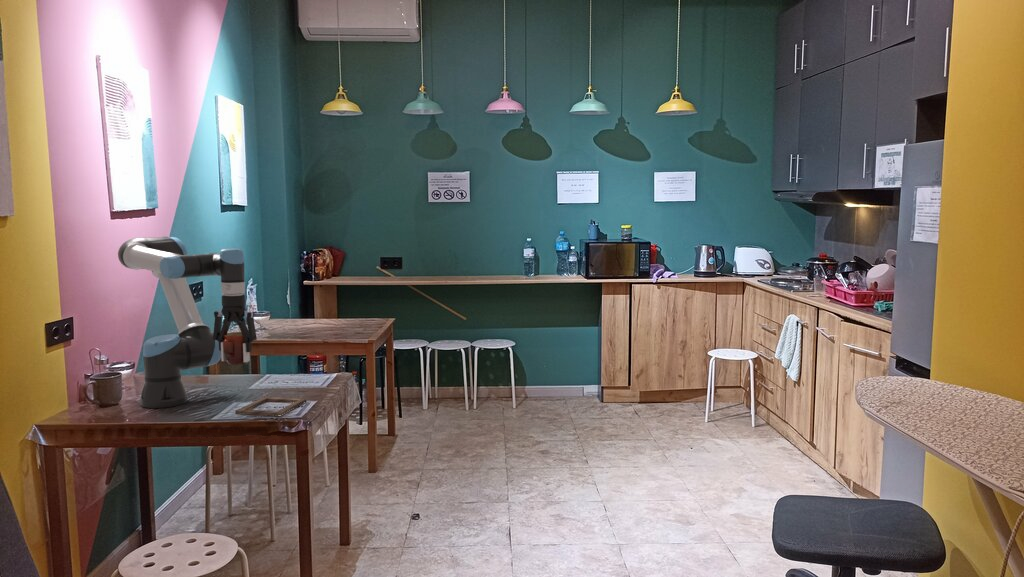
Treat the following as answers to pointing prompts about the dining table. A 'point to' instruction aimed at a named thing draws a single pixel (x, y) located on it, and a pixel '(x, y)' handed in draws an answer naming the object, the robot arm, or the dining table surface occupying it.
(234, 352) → the mug
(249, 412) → the frame
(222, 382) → the dining table surface
